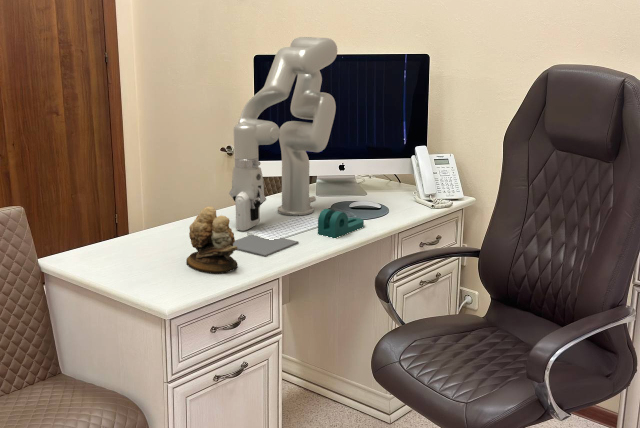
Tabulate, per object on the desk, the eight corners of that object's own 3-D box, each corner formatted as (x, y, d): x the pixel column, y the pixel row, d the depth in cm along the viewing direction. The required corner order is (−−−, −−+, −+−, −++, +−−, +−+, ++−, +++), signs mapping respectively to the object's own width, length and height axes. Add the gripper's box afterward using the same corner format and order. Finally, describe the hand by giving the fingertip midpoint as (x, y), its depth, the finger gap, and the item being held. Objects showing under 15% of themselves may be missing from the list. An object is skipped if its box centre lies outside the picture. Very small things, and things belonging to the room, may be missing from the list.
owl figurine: (251, 268, 202) (250, 208, 197) (218, 279, 193) (216, 217, 189) (208, 253, 213) (206, 196, 209) (175, 263, 205) (172, 204, 200)
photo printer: (246, 231, 233) (244, 193, 230) (234, 230, 235) (233, 192, 231) (261, 223, 242) (261, 186, 239) (250, 221, 244) (249, 185, 240)
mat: (257, 234, 232) (257, 232, 232) (298, 243, 223) (298, 241, 223) (223, 246, 219) (223, 244, 219) (265, 257, 210) (265, 255, 210)
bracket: (335, 239, 228) (335, 214, 226) (317, 235, 232) (318, 211, 230) (367, 226, 242) (368, 203, 240) (350, 222, 246) (351, 200, 244)
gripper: (275, 164, 231) (276, 220, 236) (234, 157, 240) (235, 211, 245) (259, 168, 225) (261, 225, 230) (218, 161, 234) (220, 216, 239)
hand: (248, 217), depth 238 cm, fingers closed on photo printer, 4 cm apart
